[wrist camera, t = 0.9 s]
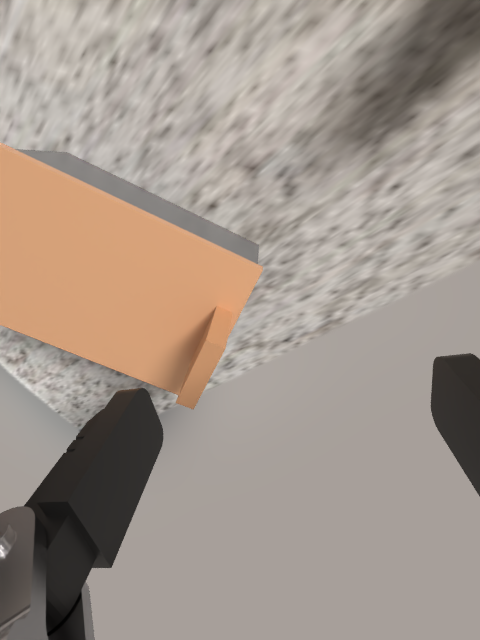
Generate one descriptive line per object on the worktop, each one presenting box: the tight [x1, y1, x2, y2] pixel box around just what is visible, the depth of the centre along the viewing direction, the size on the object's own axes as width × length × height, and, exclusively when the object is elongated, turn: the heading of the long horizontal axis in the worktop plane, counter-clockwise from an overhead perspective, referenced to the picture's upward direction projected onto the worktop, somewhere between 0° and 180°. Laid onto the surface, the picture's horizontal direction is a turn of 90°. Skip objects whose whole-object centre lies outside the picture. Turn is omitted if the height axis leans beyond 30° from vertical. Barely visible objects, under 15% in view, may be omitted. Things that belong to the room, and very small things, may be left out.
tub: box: [15, 149, 259, 264], centre depth 30 cm, size 20×14×8 cm
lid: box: [0, 143, 263, 409], centre depth 24 cm, size 21×15×7 cm
